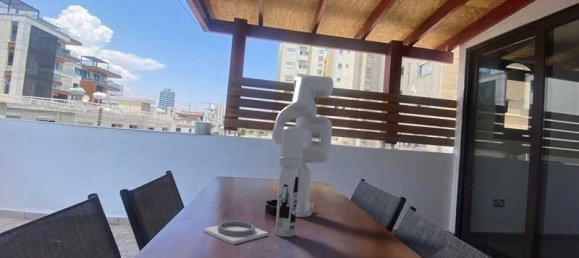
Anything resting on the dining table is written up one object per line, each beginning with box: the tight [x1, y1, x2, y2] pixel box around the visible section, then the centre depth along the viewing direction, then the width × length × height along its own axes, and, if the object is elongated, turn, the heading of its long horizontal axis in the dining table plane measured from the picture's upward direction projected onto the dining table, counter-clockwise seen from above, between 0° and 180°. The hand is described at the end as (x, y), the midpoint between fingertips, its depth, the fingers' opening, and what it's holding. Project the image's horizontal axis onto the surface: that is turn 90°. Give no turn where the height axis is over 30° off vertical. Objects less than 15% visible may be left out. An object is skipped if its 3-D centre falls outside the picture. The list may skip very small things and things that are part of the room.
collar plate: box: [203, 220, 269, 245], centre depth 115 cm, size 15×15×2 cm
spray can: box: [274, 176, 299, 238], centre depth 118 cm, size 7×7×20 cm
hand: (286, 214), depth 118 cm, fingers closed on spray can, 6 cm apart
